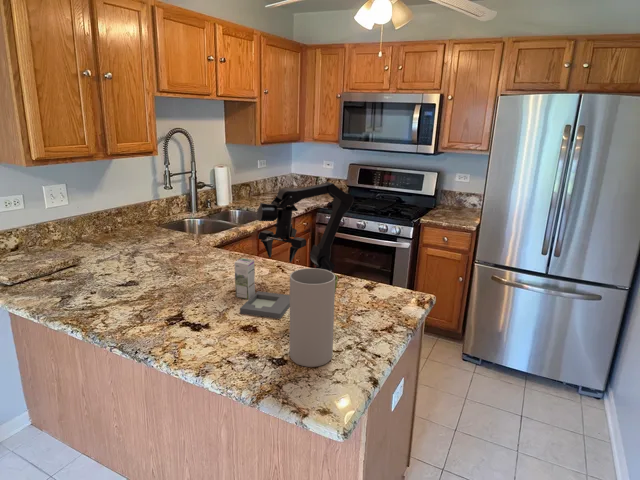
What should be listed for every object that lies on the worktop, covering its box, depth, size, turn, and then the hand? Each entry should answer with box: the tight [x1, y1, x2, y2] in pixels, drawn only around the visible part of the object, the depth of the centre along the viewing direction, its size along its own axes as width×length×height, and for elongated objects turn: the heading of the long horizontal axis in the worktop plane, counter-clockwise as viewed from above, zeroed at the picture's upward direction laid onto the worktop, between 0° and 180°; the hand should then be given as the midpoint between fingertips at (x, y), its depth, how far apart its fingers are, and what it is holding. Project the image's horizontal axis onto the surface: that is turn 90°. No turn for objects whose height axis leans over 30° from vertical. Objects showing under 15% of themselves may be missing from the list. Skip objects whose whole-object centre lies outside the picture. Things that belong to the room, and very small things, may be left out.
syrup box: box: [233, 257, 256, 300], centre depth 162 cm, size 6×6×14 cm
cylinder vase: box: [289, 267, 336, 368], centre depth 121 cm, size 12×12×25 cm
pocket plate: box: [239, 290, 290, 320], centre depth 155 cm, size 15×16×2 cm
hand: (280, 259), depth 169 cm, fingers open, 9 cm apart
